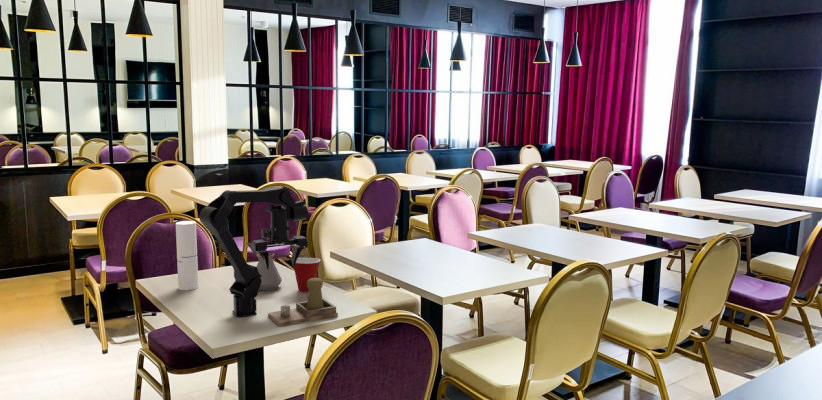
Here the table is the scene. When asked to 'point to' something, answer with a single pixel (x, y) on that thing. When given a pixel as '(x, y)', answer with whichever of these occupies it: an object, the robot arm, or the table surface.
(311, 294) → the cork
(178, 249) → the cylindrical container
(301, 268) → the plastic cup
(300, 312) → the cruet holder
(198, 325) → the table surface
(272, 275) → the coffee pot
